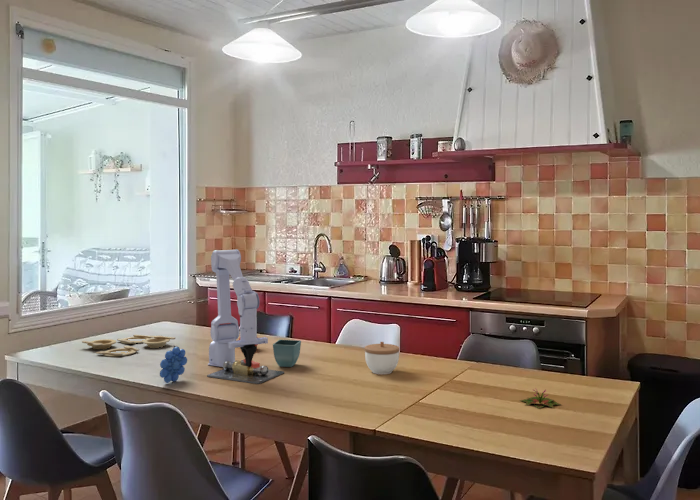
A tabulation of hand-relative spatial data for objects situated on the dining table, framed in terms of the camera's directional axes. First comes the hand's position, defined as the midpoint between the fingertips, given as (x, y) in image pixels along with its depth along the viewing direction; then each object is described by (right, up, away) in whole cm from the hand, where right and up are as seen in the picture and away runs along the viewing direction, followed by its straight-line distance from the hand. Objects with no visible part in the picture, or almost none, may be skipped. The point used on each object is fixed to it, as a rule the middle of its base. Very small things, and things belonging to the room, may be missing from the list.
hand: (248, 366), depth 218 cm
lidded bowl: (+47, -4, +9) cm, 48 cm away
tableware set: (-60, -2, +52) cm, 79 cm away
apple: (-7, -2, +46) cm, 46 cm away
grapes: (-26, -5, -3) cm, 27 cm away
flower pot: (+12, -4, +19) cm, 22 cm away
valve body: (-2, -4, +5) cm, 7 cm away
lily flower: (+93, -7, -28) cm, 97 cm away
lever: (0, 0, +3) cm, 3 cm away
